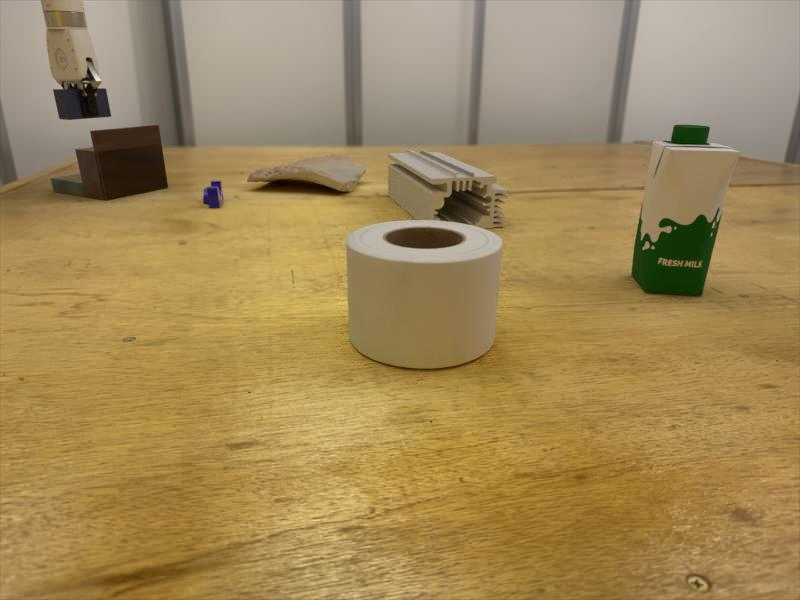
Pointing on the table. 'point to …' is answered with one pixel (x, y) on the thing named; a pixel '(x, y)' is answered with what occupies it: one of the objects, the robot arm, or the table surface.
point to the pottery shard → (315, 172)
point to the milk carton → (681, 211)
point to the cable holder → (213, 194)
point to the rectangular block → (79, 104)
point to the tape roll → (423, 292)
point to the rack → (117, 165)
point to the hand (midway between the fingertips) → (85, 114)
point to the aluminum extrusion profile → (444, 189)
